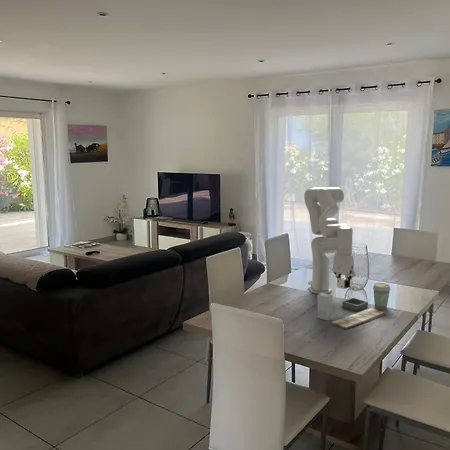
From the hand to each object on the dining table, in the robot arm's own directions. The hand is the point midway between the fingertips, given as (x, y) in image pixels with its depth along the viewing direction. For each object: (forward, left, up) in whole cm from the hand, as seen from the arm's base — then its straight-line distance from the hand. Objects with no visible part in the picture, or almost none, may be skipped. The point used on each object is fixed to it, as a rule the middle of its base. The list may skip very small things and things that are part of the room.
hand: (343, 285), depth 230 cm
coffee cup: (+10, +18, -13) cm, 24 cm away
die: (0, 0, -1) cm, 1 cm away
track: (+13, -4, -13) cm, 19 cm away
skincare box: (+2, -16, -13) cm, 21 cm away
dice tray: (+2, +8, -13) cm, 15 cm away
